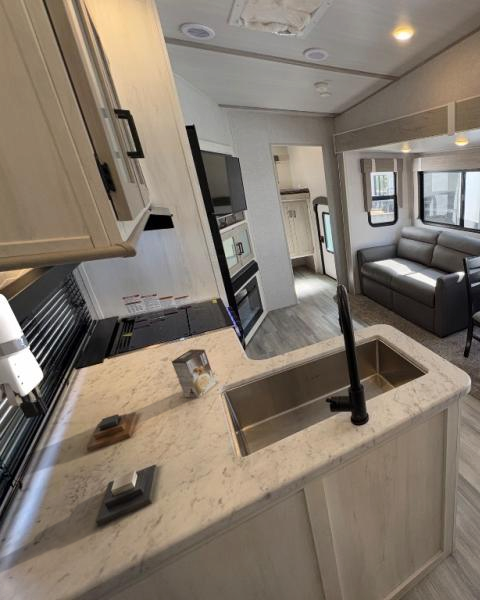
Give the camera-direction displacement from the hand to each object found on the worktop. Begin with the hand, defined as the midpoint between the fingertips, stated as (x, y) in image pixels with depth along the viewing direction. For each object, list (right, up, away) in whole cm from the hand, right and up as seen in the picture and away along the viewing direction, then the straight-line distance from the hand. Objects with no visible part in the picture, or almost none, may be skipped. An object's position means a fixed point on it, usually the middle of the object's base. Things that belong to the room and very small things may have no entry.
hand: (37, 414), depth 75 cm
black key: (-4, -12, +23) cm, 27 cm away
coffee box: (+11, -8, +44) cm, 46 cm away
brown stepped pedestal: (-4, -16, +25) cm, 29 cm away
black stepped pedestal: (+20, -22, +3) cm, 30 cm away
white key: (+20, -19, +2) cm, 28 cm away
